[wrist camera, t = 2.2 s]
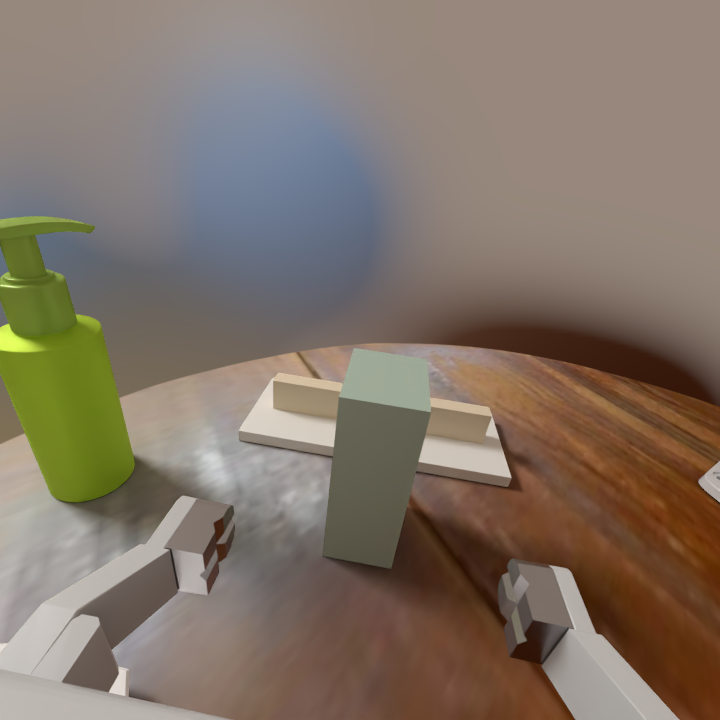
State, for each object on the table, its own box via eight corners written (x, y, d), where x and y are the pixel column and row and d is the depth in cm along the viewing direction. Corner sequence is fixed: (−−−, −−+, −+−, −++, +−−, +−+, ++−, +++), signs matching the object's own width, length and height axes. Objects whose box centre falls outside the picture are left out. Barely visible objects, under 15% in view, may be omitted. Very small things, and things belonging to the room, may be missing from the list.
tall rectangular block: (394, 501, 32) (427, 359, 25) (391, 568, 26) (431, 412, 20) (337, 491, 32) (354, 348, 25) (322, 555, 27) (338, 397, 20)
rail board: (488, 421, 43) (500, 388, 41) (507, 487, 35) (524, 449, 32) (272, 385, 45) (272, 351, 42) (239, 440, 36) (236, 400, 34)
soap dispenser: (161, 459, 33) (113, 223, 23) (77, 515, 27) (-31, 236, 18) (118, 434, 35) (59, 208, 25) (33, 481, 29) (-85, 215, 20)
